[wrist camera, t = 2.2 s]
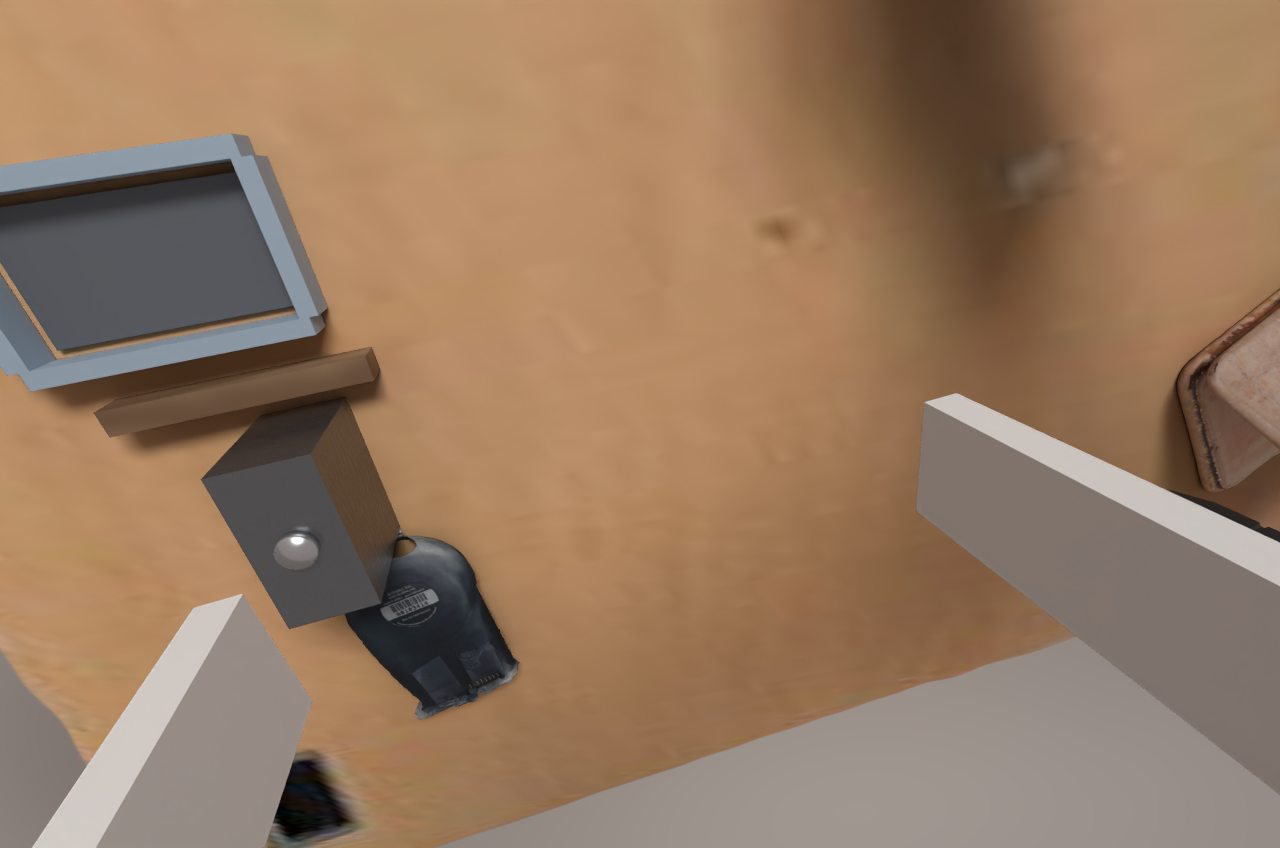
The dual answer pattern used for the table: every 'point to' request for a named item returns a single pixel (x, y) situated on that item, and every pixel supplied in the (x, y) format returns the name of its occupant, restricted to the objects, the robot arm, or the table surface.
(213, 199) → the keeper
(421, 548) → the electronic device
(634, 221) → the table surface
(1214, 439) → the case
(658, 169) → the table surface
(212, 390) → the door edge strip
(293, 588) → the grey block with knob
